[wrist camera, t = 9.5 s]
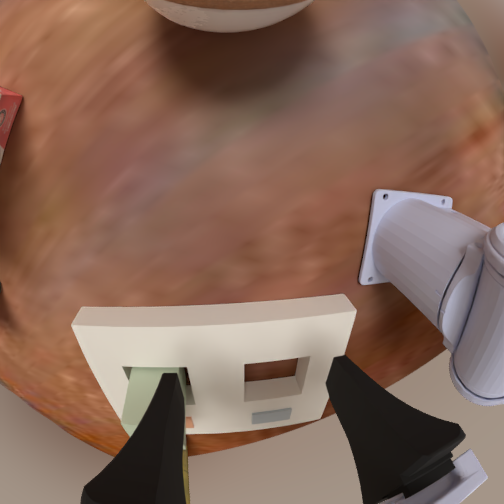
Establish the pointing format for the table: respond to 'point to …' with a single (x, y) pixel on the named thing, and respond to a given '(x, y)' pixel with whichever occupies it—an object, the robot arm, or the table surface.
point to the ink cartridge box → (7, 115)
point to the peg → (146, 394)
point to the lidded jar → (227, 13)
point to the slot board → (223, 356)
